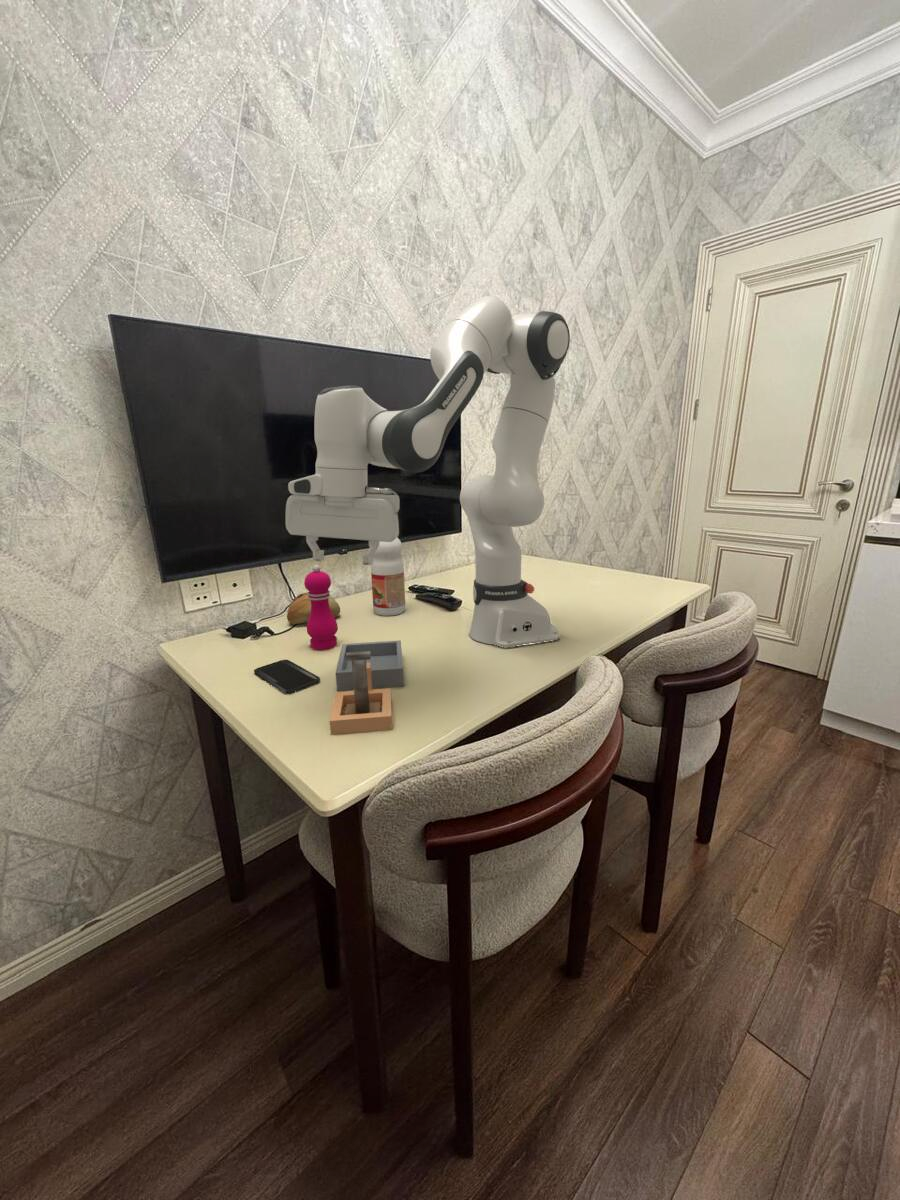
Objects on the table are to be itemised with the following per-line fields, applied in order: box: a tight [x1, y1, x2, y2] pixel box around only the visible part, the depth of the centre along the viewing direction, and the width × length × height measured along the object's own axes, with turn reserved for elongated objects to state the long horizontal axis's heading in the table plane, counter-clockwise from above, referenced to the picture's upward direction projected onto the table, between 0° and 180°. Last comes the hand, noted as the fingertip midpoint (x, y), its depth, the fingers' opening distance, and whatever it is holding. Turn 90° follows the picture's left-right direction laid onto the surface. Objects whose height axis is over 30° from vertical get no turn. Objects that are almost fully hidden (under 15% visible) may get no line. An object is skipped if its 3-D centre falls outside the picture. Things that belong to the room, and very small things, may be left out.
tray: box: [335, 639, 405, 692], centre depth 100 cm, size 13×15×4 cm
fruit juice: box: [369, 536, 406, 617], centre depth 136 cm, size 9×9×28 cm
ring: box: [329, 662, 393, 735], centre depth 84 cm, size 10×12×7 cm
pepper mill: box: [304, 564, 339, 651], centre depth 113 cm, size 7×7×20 cm
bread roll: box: [286, 591, 341, 625], centre depth 133 cm, size 10×15×8 cm, turn 126°
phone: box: [253, 659, 321, 695], centre depth 99 cm, size 8×1×15 cm
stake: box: [344, 651, 381, 715], centre depth 82 cm, size 6×6×12 cm
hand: (343, 562), depth 88 cm, fingers open, 8 cm apart
